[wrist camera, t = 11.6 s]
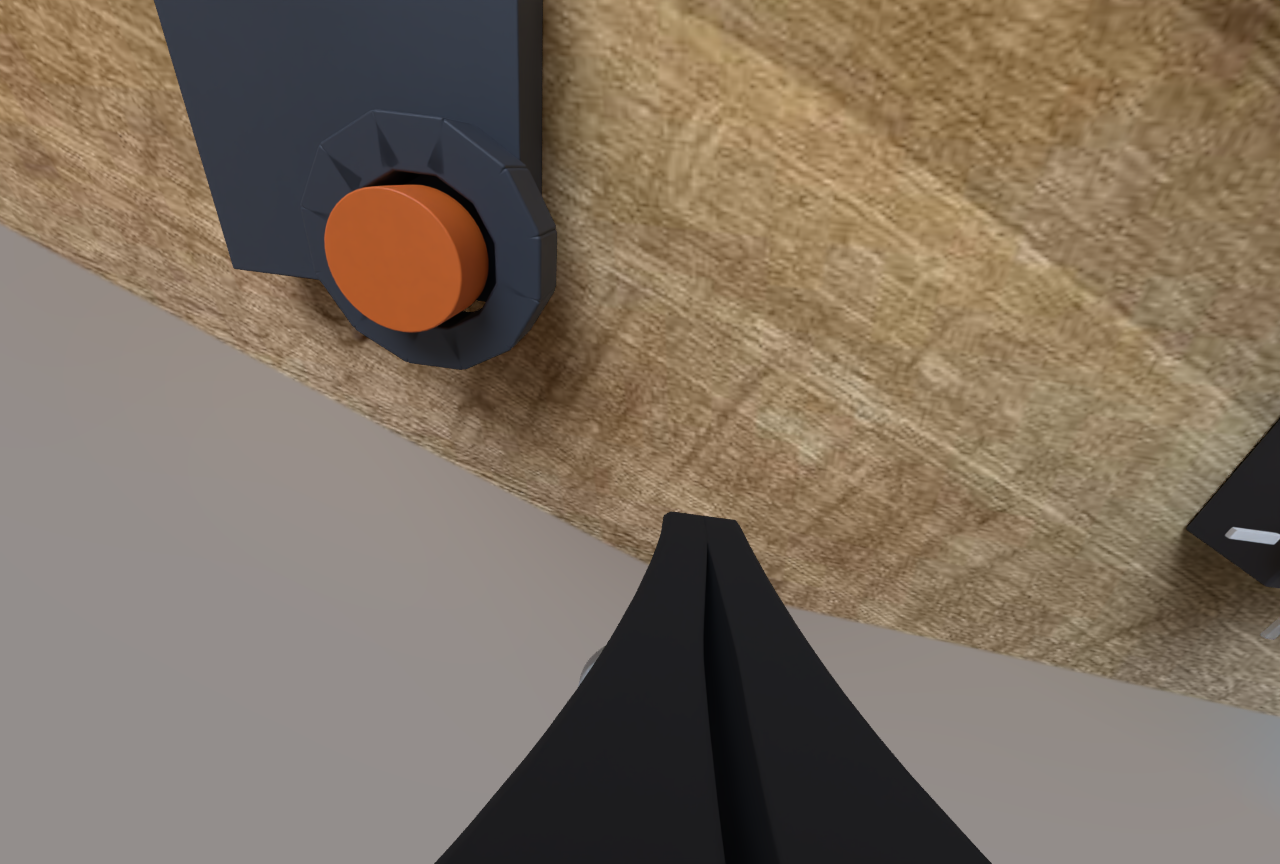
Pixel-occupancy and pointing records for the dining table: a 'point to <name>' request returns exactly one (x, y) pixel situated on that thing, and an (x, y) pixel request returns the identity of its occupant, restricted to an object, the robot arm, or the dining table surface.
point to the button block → (374, 138)
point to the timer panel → (1249, 517)
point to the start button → (406, 255)
